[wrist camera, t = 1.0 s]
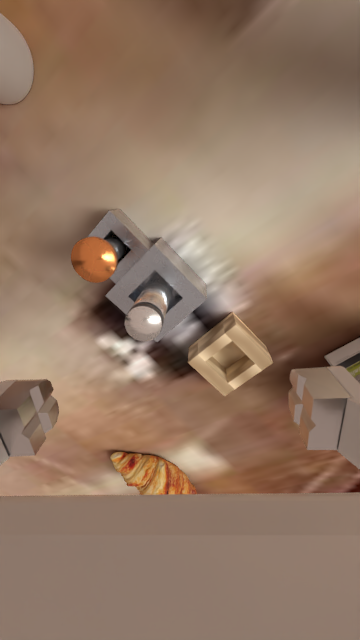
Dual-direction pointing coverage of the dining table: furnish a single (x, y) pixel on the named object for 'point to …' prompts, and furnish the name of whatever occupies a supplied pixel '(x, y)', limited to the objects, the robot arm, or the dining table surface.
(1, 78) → the mug
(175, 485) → the croissant
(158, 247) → the socket block
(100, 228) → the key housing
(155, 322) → the banded metal cylinder
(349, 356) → the tea box
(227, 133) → the dining table surface
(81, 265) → the orange rounded piece
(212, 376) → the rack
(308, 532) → the robot arm
